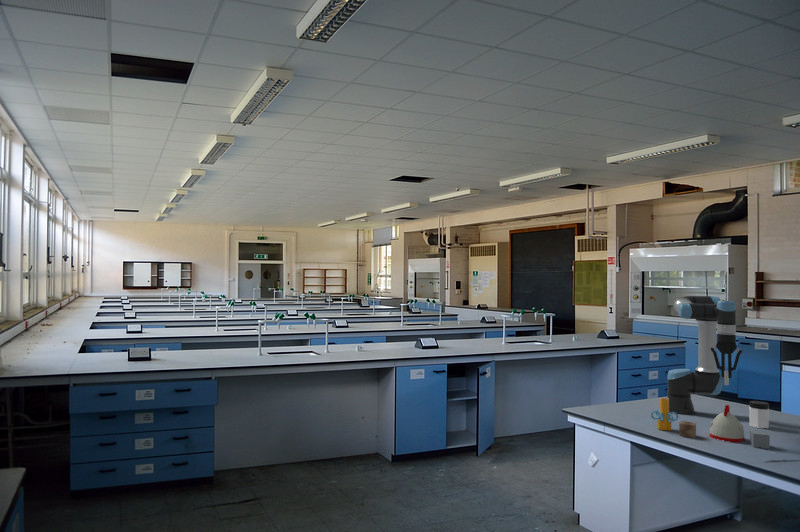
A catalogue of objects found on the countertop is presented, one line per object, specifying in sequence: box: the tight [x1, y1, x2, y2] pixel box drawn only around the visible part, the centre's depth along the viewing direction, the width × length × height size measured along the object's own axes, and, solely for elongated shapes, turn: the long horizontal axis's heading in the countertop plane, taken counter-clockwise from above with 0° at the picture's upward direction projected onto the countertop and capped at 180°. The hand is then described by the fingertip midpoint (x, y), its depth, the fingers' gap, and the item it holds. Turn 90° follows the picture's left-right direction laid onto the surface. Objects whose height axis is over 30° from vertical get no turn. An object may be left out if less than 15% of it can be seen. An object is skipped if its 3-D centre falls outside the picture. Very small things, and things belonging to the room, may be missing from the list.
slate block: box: [749, 429, 771, 450], centre depth 240 cm, size 6×6×6 cm
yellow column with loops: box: [650, 397, 679, 432], centre depth 266 cm, size 12×10×15 cm
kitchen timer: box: [709, 404, 745, 443], centre depth 253 cm, size 14×14×15 cm
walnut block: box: [678, 420, 697, 439], centre depth 255 cm, size 6×6×6 cm
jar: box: [748, 400, 770, 429], centre depth 274 cm, size 9×8×12 cm
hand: (726, 384), depth 253 cm, fingers closed
